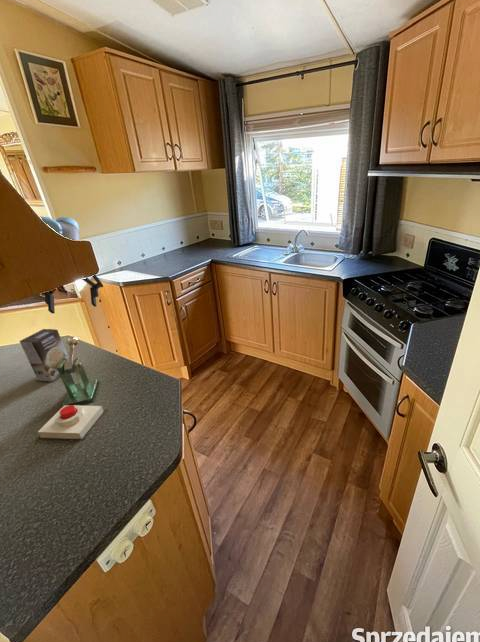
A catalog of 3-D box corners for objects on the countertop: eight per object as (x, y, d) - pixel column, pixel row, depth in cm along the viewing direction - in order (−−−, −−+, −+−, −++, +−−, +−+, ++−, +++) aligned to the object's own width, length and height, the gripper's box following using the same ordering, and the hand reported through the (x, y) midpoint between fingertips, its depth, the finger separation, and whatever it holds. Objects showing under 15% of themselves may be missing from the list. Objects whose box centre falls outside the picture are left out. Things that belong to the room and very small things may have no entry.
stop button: (58, 419, 80) (56, 414, 79) (68, 409, 83) (65, 405, 82) (70, 419, 80) (68, 414, 79) (79, 410, 83) (77, 405, 82)
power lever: (69, 341, 97) (65, 335, 95) (80, 339, 98) (76, 333, 96) (66, 374, 89) (61, 369, 87) (77, 372, 90) (73, 367, 88)
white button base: (40, 437, 79) (34, 427, 77) (66, 410, 88) (62, 400, 86) (81, 439, 78) (76, 428, 76) (103, 411, 87) (99, 401, 85)
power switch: (71, 388, 97) (58, 356, 92) (98, 382, 100) (86, 351, 94) (63, 408, 89) (47, 374, 83) (92, 401, 91) (79, 368, 86)
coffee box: (52, 382, 101) (33, 342, 94) (37, 380, 102) (18, 341, 95) (73, 366, 109) (57, 329, 102) (59, 365, 110) (42, 328, 104)
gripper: (108, 257, 115) (114, 306, 108) (36, 265, 108) (37, 318, 101) (102, 246, 108) (108, 298, 101) (24, 255, 101) (25, 311, 94)
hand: (73, 308), depth 101 cm, fingers open, 12 cm apart
